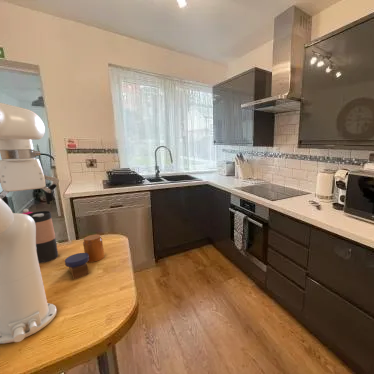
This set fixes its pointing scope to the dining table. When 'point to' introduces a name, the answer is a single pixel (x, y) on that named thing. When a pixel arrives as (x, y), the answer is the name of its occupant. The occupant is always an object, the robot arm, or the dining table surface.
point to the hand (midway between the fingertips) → (29, 206)
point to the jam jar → (94, 247)
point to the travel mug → (44, 236)
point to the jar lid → (76, 259)
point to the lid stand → (79, 271)
